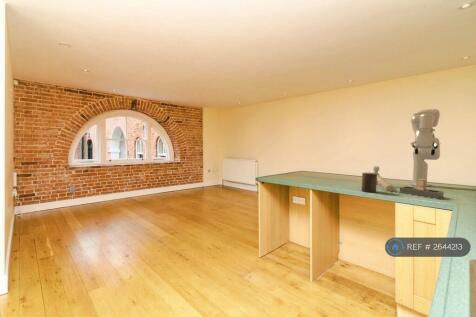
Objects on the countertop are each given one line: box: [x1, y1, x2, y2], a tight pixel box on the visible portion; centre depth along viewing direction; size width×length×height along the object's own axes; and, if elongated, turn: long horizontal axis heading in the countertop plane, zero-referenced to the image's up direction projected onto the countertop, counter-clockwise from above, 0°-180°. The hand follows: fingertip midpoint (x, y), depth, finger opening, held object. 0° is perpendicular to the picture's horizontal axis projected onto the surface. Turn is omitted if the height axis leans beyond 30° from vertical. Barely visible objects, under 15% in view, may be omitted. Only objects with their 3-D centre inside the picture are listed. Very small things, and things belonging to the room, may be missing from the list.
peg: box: [415, 179, 427, 190], centre depth 160 cm, size 4×4×10 cm
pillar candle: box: [361, 171, 378, 194], centre depth 172 cm, size 10×10×15 cm
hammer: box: [371, 165, 394, 192], centre depth 186 cm, size 16×5×30 cm
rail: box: [399, 185, 445, 200], centre depth 160 cm, size 9×22×4 cm, turn 32°
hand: (424, 154), depth 169 cm, fingers open, 9 cm apart
